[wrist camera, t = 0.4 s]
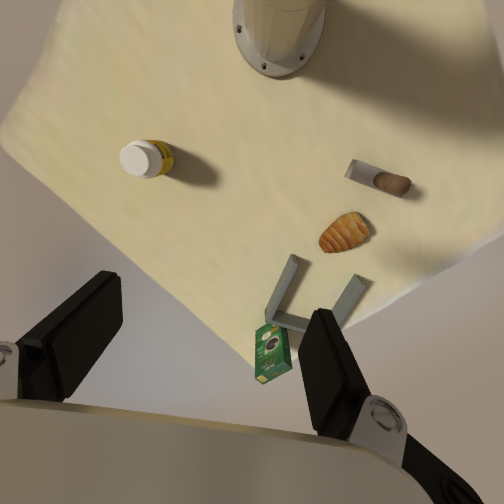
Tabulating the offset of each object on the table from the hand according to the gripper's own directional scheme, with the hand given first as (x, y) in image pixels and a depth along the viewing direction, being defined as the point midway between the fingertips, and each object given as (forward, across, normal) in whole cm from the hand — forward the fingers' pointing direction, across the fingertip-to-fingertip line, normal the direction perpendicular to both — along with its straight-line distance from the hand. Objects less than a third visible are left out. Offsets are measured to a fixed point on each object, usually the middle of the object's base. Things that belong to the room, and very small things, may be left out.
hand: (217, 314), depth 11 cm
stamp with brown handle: (+35, -22, -6) cm, 42 cm away
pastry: (+35, -21, +5) cm, 41 cm away
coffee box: (+35, -12, +32) cm, 49 cm away
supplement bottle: (+35, +16, -2) cm, 38 cm away
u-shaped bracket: (+35, -19, +20) cm, 45 cm away
